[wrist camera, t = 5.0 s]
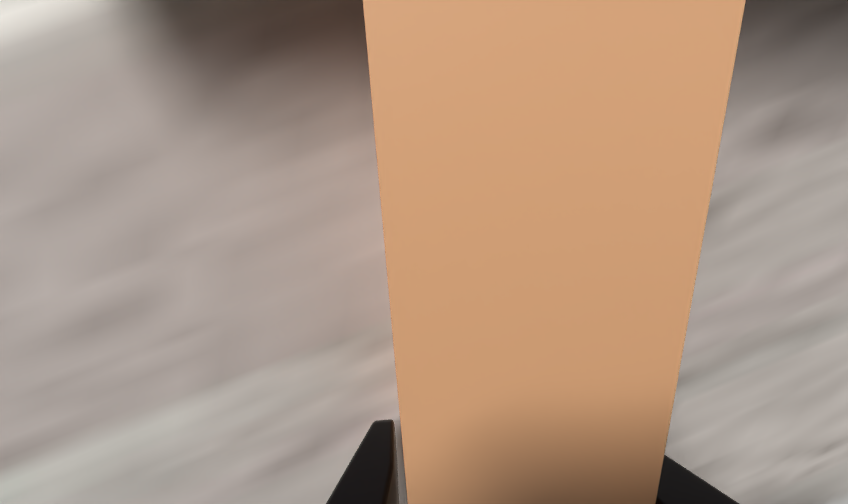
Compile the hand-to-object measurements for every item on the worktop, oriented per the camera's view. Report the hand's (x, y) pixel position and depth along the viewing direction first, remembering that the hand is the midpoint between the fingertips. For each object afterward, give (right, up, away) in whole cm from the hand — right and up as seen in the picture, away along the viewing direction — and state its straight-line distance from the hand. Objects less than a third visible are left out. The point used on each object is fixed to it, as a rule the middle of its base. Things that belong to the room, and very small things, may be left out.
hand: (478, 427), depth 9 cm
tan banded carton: (0, +5, 0) cm, 5 cm away
